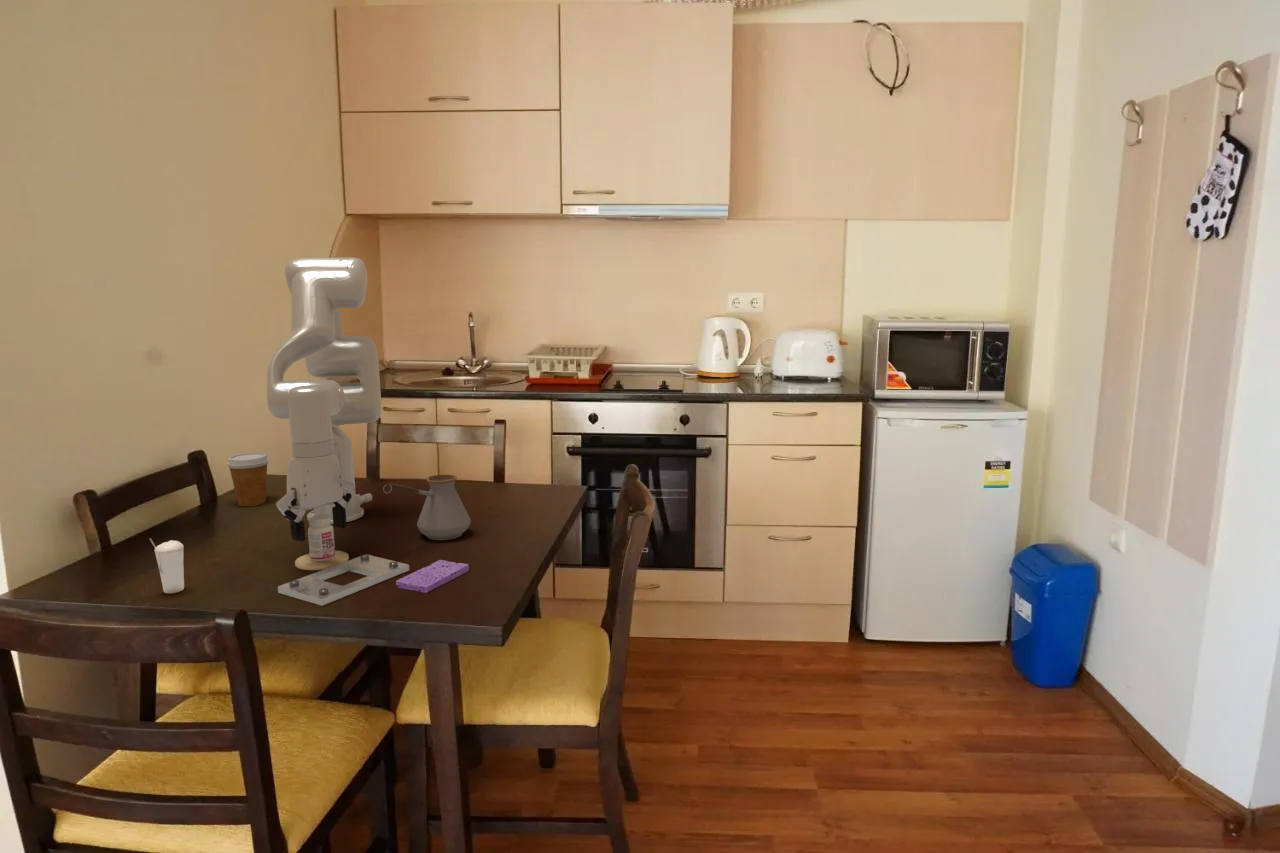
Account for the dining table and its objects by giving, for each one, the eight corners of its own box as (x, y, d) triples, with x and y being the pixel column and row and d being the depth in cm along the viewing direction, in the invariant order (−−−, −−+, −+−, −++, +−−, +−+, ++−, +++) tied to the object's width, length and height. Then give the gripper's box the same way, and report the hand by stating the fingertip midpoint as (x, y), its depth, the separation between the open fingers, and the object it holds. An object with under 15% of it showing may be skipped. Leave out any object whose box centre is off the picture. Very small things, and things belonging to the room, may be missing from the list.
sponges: (469, 573, 160) (468, 564, 160) (426, 596, 149) (425, 586, 149) (440, 568, 163) (439, 559, 163) (395, 590, 152) (395, 580, 152)
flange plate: (366, 560, 167) (365, 551, 166) (409, 570, 161) (408, 561, 160) (278, 592, 150) (277, 583, 150) (322, 605, 144) (321, 596, 144)
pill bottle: (327, 562, 164) (323, 521, 162) (305, 561, 165) (301, 520, 163) (340, 554, 168) (337, 514, 167) (318, 553, 169) (315, 513, 168)
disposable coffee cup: (259, 496, 216) (255, 450, 214) (280, 501, 210) (276, 455, 208) (223, 504, 208) (218, 457, 206) (244, 510, 203) (239, 462, 201)
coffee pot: (443, 524, 190) (440, 460, 188) (482, 531, 184) (479, 465, 182) (370, 551, 172) (365, 480, 170) (410, 560, 166) (406, 487, 164)
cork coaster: (326, 550, 173) (326, 547, 173) (359, 558, 168) (359, 555, 168) (284, 564, 164) (284, 561, 164) (317, 573, 159) (317, 570, 159)
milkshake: (162, 586, 154) (156, 534, 152) (192, 585, 154) (186, 533, 152) (150, 595, 149) (143, 542, 147) (181, 594, 150) (175, 541, 148)
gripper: (336, 439, 171) (342, 519, 174) (261, 455, 157) (269, 542, 160) (361, 443, 167) (367, 525, 170) (286, 459, 153) (294, 549, 156)
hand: (320, 533), depth 165 cm, fingers open, 9 cm apart
